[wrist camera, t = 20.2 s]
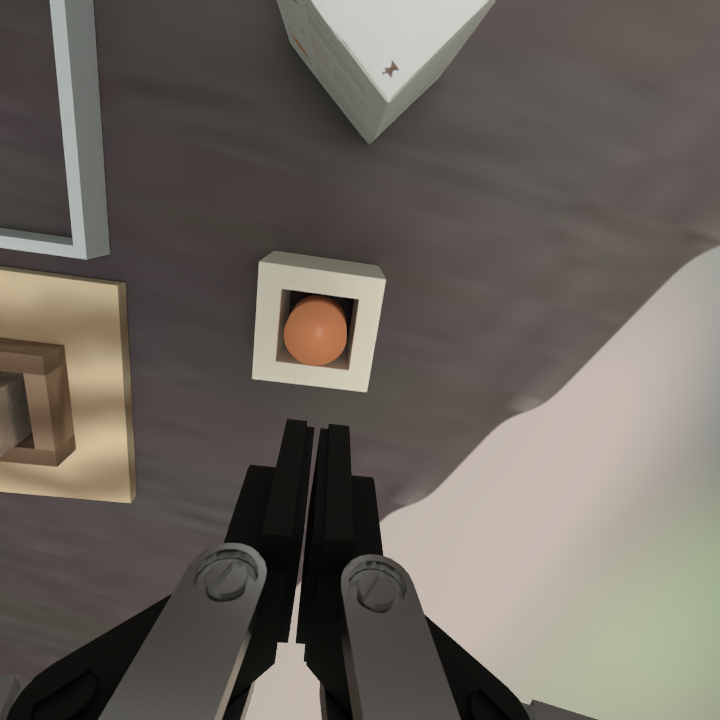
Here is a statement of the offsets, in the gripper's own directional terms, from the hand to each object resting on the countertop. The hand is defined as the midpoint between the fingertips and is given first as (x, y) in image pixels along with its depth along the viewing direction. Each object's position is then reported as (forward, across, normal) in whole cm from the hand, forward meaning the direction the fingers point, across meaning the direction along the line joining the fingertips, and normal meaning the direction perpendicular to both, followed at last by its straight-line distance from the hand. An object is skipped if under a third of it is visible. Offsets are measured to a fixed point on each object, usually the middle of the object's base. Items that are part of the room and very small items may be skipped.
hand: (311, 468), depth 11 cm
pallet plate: (+23, +24, +12) cm, 36 cm away
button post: (+23, 0, +2) cm, 23 cm away
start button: (+19, 0, +2) cm, 19 cm away
